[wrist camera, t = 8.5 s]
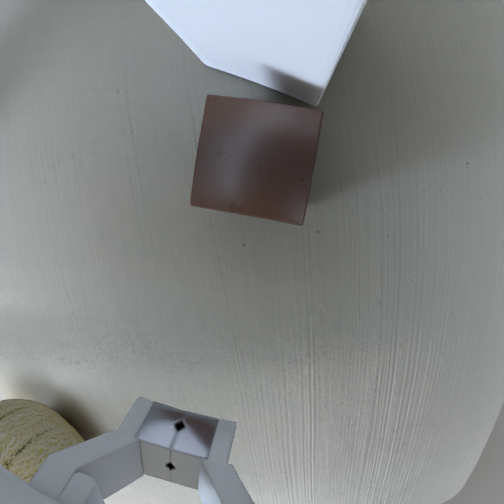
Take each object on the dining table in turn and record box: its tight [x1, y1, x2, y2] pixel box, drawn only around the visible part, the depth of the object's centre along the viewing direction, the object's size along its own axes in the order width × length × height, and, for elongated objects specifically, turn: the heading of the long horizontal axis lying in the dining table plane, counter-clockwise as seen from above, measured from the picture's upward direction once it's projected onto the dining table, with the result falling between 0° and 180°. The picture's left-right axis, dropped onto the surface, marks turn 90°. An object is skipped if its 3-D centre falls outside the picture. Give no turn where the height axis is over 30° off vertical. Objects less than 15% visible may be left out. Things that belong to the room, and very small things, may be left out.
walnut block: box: [190, 95, 323, 226], centre depth 15 cm, size 5×5×5 cm
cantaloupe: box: [0, 399, 85, 483], centre depth 20 cm, size 15×15×15 cm
